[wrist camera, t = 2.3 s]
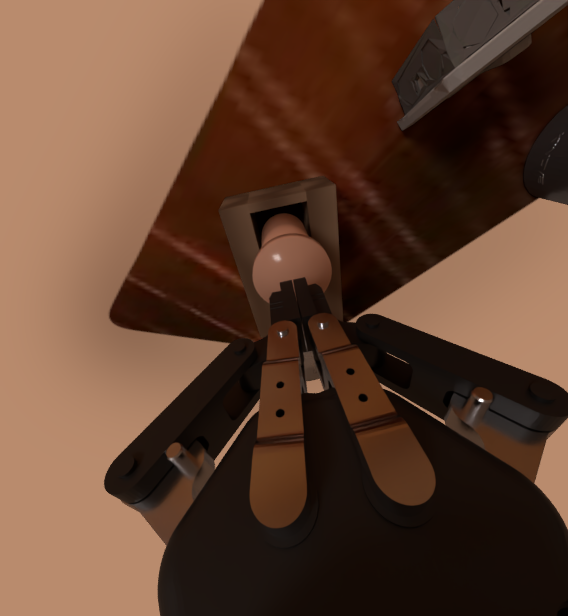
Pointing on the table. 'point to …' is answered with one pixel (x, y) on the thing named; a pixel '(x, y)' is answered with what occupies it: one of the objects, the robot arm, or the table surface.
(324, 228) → the socket board
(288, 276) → the terracotta plug
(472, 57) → the electrical switch
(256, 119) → the table surface
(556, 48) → the table surface
